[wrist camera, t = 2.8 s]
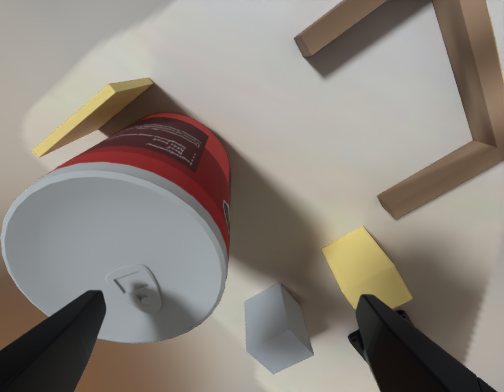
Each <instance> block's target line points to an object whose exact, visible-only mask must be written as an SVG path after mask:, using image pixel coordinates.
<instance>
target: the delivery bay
mask: <svg viewBox="0 0 504 392" xmlns="http://www.w3.org/2000/svg"><path fill="white" fill-rule="evenodd" d="M385 1H387V0H343V1H342V2H340V3H339V4H338V5H336V6H335V7H334V8H333V9H331V10H330V11H329V12H327V13H326V14H325V15H323V16H322V17H321V18H319V19H318V20H317V21H316V22H314V23H313V24H312V25H310V26H309V27H308V28H306V29H305V30H304V31H302V32H301V33H300V34H299V35H297V36H296V37H295V38H294V40H295V42H296V44H297V46H298V48H299V50H300V51H301V53H302V55H303V57H305V56H312V55H313V54H315V53H316V52H317V51H319V50H320V49H322V48H323V47H324V46H326V45H327V44H328V43H330V42H331V41H332V40H334V39H335V38H336V37H338V36H339V35H341V34H342V33H343V32H345V31H346V30H347V29H349V28H350V27H351V26H353V25H354V24H355V23H357V22H358V21H360V20H361V19H362V18H364V17H365V16H366V15H368V14H369V13H370V12H372V11H373V10H375V9H376V8H377V7H379V6H380V5H381V4H383V3H384V2H385ZM432 2H433V5H434V9H435V12H436V15H437V19H438V22H439V25H440V29H441V32H442V36H443V39H444V42H445V46H446V49H447V52H448V56H449V59H450V63H451V66H452V69H453V73H454V76H455V79H456V83H457V86H458V90H459V93H460V96H461V100H462V103H463V107H464V110H465V113H466V117H467V120H468V123H469V127H470V130H471V134H472V137H473V141H471V142H469V143H468V144H466V145H464V146H462V147H461V148H459V149H457V150H455V151H454V152H452V153H450V154H449V155H447V156H445V157H443V158H442V159H440V160H438V161H436V162H435V163H433V164H431V165H430V166H428V167H426V168H424V169H423V170H421V171H419V172H417V173H416V174H414V175H412V176H410V177H409V178H407V179H405V180H404V181H402V182H400V183H398V184H397V185H395V186H393V187H391V188H390V189H388V190H386V191H385V192H383V193H381V194H379V195H378V196H377V197H378V199H379V201H380V203H381V205H382V207H383V208H384V209H385V210H386V211H387V212H388V213H390V214H391V215H392V216H393V217H394V218H395V219H397V218H399V217H401V216H403V215H404V214H406V213H408V212H410V211H412V210H413V209H415V208H417V207H419V206H421V205H423V204H424V203H426V202H428V201H430V200H432V199H433V198H435V197H437V196H439V195H441V194H443V193H444V192H446V191H448V190H450V189H452V188H453V187H455V186H457V185H459V184H461V183H463V182H464V181H466V180H468V179H470V178H472V177H473V176H475V175H477V174H479V173H481V172H483V171H484V170H486V169H488V168H490V167H492V166H493V165H495V164H497V163H499V162H501V161H503V160H504V78H503V73H502V69H501V64H500V60H499V55H498V50H497V46H496V41H495V36H494V32H493V27H492V23H491V18H490V17H489V13H488V8H487V4H486V0H432Z"/></svg>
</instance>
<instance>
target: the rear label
mask: <svg viewBox="0 0 504 392" xmlns="http://www.w3.org/2000/svg"><path fill="white" fill-rule="evenodd" d="M152 84H153V82H152V81H151V80H150V78H143V79H137V80H130V81H124V82H118V83H111V84H108V85H107V86H105V87H104V88H103V89H102V90H101V91H100V92H99V93H97V94H96V95H95V96H94V97H93V98H92V99H90V100H89V101H88V102H87V103H86V104H85V105H84V106H82V107H81V108H80V109H79V110H78V111H77V112H75V113H74V114H73V115H72V116H71V117H70V118H69V119H67V120H66V121H65V122H64V123H63V124H62V125H60V126H59V127H58V128H57V129H56V130H55V131H54V132H52V133H51V134H50V135H49V136H48V137H47V138H45V139H44V140H43V141H42V142H41V143H40V144H39V145H37V146H36V147H35V148H34V149H33V150H32V152H33V153H34V154H35V155H36V156H37V157H41V156H43V155H46V154H48V153H50V152H52V151H54V150H56V149H58V148H60V147H62V146H64V145H66V144H69V143H71V142H73V141H75V140H77V139H79V138H81V137H83V136H85V135H87V134H89V133H92V132H94V131H96V130H98V129H99V128H100V127H101V126H103V125H104V124H105V123H106V122H107V121H109V120H110V119H111V118H112V117H113V116H115V115H116V114H117V113H118V112H119V111H121V110H122V109H123V108H124V107H126V106H127V105H128V104H129V103H130V102H132V101H133V100H134V99H135V98H136V97H138V96H139V95H140V94H141V93H142V92H144V91H145V90H146V89H147V88H148V87H150V86H151V85H152Z"/></svg>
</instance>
